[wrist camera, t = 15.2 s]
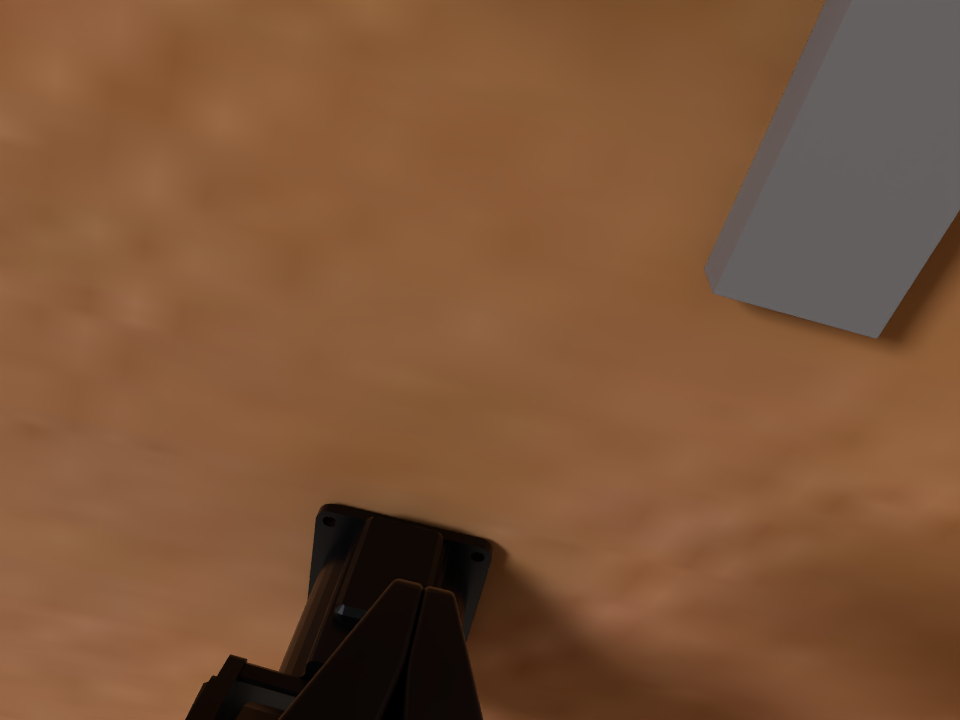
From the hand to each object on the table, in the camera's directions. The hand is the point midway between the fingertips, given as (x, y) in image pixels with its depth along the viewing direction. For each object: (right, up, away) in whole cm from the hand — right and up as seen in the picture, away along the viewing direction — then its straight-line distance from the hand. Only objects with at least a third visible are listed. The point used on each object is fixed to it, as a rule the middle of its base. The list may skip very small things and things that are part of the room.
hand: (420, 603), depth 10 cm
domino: (+9, +5, +9) cm, 14 cm away
